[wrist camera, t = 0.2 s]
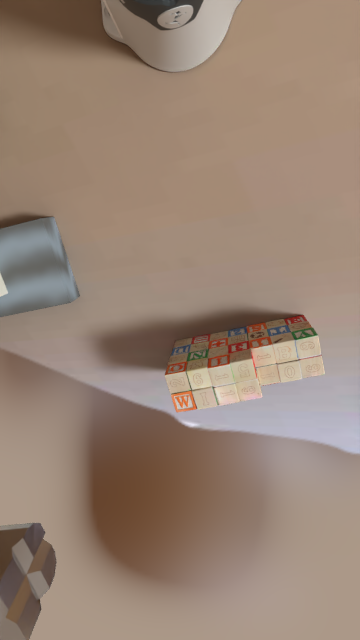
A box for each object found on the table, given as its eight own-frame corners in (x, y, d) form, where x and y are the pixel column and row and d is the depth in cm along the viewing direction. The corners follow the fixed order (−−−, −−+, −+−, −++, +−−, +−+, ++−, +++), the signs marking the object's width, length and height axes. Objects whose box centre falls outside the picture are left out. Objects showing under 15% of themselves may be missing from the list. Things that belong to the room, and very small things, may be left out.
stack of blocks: (303, 312, 54) (326, 343, 43) (309, 348, 56) (332, 387, 45) (174, 340, 59) (163, 375, 47) (184, 372, 60) (175, 414, 49)
